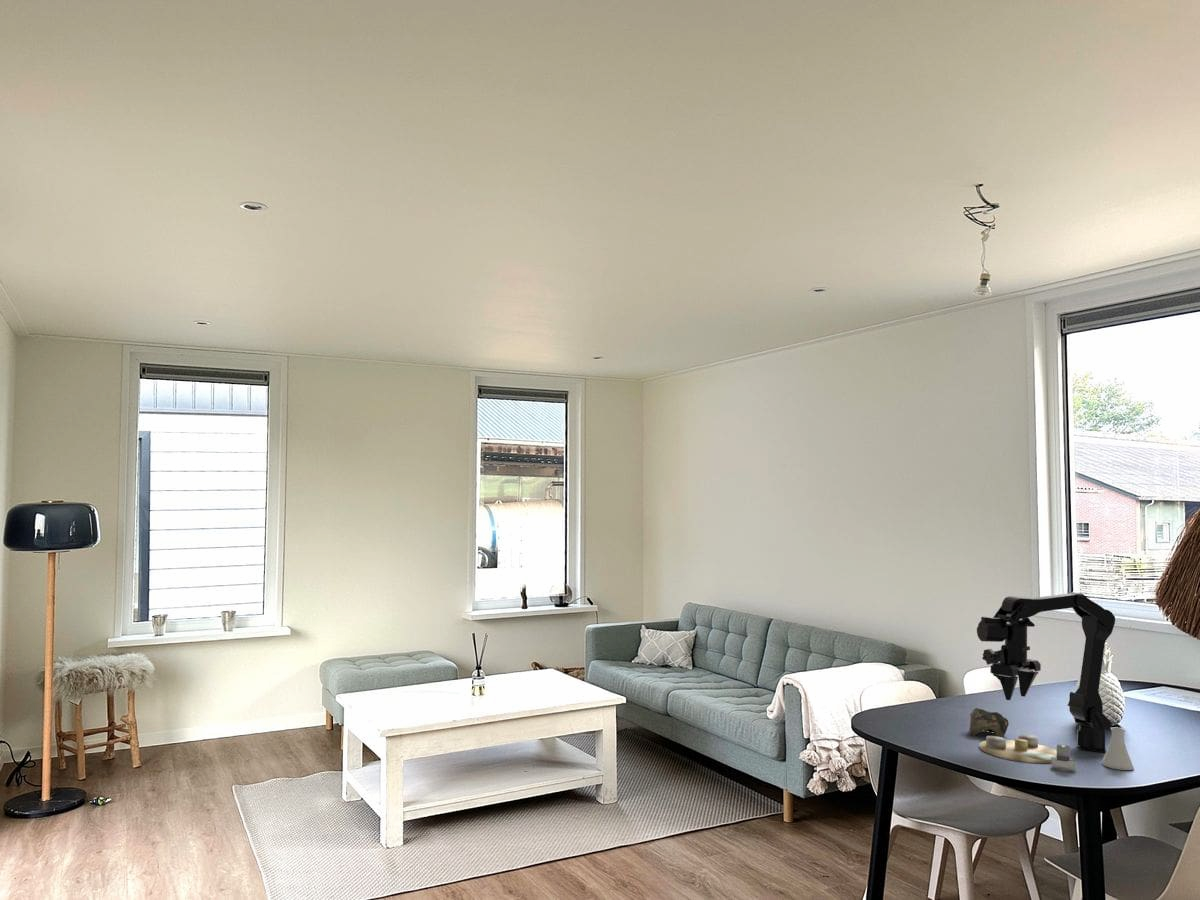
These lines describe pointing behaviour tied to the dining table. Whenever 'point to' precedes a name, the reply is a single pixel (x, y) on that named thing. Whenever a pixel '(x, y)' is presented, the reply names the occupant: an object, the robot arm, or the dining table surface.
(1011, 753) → the carrier plate
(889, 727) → the dining table surface
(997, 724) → the fossil
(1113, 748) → the flask
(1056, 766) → the silver metal knob
